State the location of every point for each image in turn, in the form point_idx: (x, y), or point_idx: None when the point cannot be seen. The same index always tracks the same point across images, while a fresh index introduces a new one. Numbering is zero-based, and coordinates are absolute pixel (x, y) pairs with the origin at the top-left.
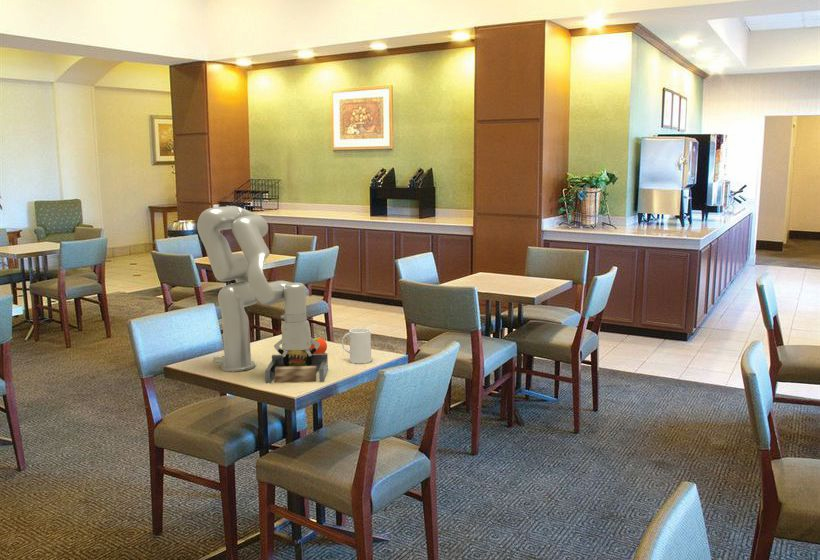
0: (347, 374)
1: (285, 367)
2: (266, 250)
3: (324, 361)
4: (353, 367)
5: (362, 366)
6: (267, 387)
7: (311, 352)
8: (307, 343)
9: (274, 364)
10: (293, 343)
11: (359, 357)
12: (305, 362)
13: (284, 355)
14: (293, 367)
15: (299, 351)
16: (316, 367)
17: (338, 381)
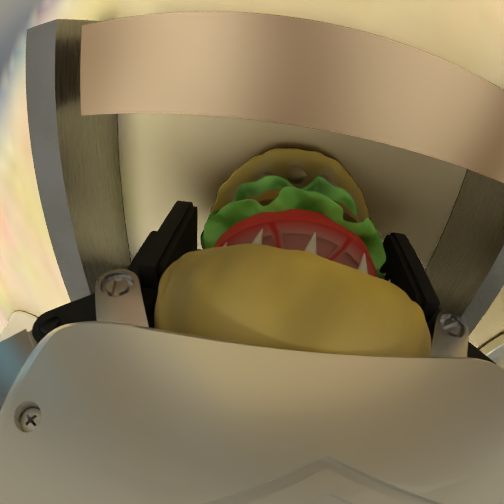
0: (8, 179)
1: (440, 120)
2: None
3: (66, 260)
4: (26, 279)
5: (7, 281)
6: (499, 6)
7: (95, 312)
8: (35, 422)
9: (459, 302)
10: (381, 491)
11: (17, 332)
12: (207, 245)
13: (446, 323)
14: (351, 83)
15: (250, 310)
16: (91, 111)
17: (22, 48)
